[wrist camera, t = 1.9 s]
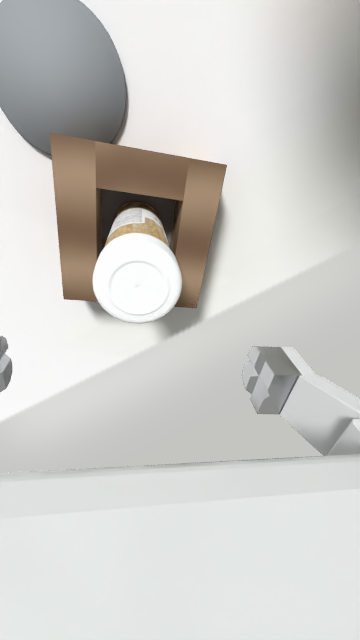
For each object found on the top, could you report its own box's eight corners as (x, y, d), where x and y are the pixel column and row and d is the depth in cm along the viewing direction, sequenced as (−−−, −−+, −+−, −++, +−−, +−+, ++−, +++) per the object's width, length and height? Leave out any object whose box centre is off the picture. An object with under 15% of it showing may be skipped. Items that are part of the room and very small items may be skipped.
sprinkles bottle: (168, 242, 26) (193, 312, 14) (123, 256, 26) (113, 337, 14) (153, 192, 23) (168, 229, 12) (104, 208, 23) (73, 260, 12)
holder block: (64, 136, 20) (49, 132, 17) (213, 163, 22) (226, 165, 19) (73, 280, 26) (63, 299, 23) (189, 290, 29) (196, 308, 25)
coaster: (-27, -33, 15) (-31, -37, 15) (129, 11, 17) (128, 8, 17) (2, 148, 20) (0, 148, 20) (123, 168, 22) (123, 168, 21)
